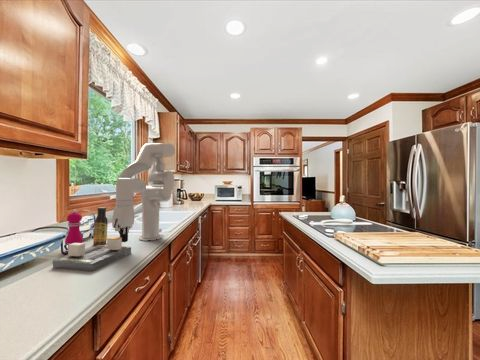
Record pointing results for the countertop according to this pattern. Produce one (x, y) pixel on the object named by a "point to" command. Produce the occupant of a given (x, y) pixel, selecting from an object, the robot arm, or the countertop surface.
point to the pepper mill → (74, 228)
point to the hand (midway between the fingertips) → (123, 241)
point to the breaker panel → (91, 258)
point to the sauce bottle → (100, 227)
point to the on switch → (76, 249)
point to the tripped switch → (114, 243)
